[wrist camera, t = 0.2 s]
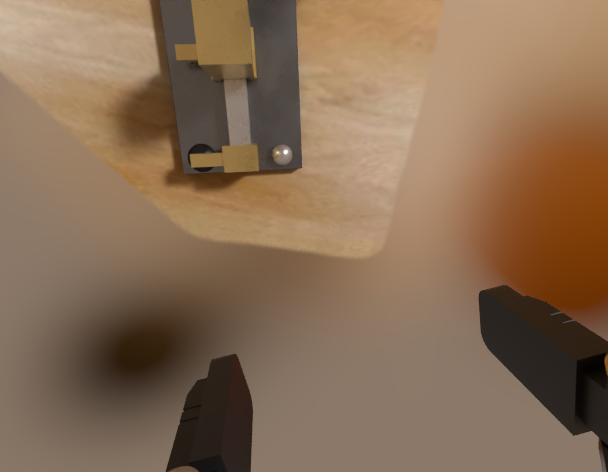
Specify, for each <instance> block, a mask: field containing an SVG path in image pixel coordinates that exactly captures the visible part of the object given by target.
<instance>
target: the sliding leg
mask: <svg viewBox="0 0 608 472" xmlns="http://www.w3.org/2000/svg"><path fill="white" fill-rule="evenodd" d="M191 4H192V12H193V21H194V30H195V38H196V44H175V51H176V59H177V61H178V62H188V63H191V62H198V64H199V66H200V67H202V68H203V69H204V70H205V71H206V72H207V73H208V74H209V75H210V76H211V79H212V80H213V81H222V80H221V79H239V78H249V80H257V72H256V58H255V44H254V31H253V27H251V25H250V17H249V10H248V2H247V0H191Z"/></svg>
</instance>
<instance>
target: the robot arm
mask: <svg viewBox="0 0 608 472" xmlns="http://www.w3.org/2000/svg"><path fill="white" fill-rule="evenodd" d="M479 310H480V325H481V334H482V338H483V340H484V342H485V344H486V346H487V348H488V349H489V350H490V351H491V352H492V353H493V355H495V357H497V359H498V360H499V361H500V362H501V363H502V364H503V365H504V366H505V367H506V368H507V369H508V370H509V371H510V372H511V373H512V374H513V375H514V376H515V377H516V378H517V379H518V380H519V381H520V382H521V383H522V384H523V385H524V386H525V387H526V388H527V389H528V390H529V391H530V392H531V393H532V394H533V395H534V396H535V397H536V398H537V399H538V400H539V401H540V402H541V403H542V404H543V405H544V406H545V407H546V408H547V409H548V410H549V411H550V412H551V413H552V414H553V415H554V416H555V417H556V418H557V419H558V420H559V421H560V422H561V423H562V424H563V425H564V426H565V427H566V428H567V429H568V430H569V431H570V432H571V433H572V434H573V435H578V434H581V433H585V432H589V431H593V432H594V433H595V434H596V435H597V436H598V437H599V443H598V448H599V454H600V459H601V466H602V471H603V472H608V341H606V340H605V339H603V338H601V337H600V336H598V335H597V334H595V333H594V332H592V331H590V330H589V329H587V328H586V327H584V326H583V325H581V324H579V323H578V322H576V321H575V322H574V321H573V319H572V318H570V317H568V316H567V315H565V314H564V313H561V312H560V311H559V310H558V309H556V308H554V307H553V306H551V305H550V304H548V303H547V302H544V301H541V300H538V299H535V298H532V297H530V296H524V297H523V296H522V295H520V294H519V293H517V292H516V291H514V290H513V289H511V288H510V287H508V286H506V285H502V286H498V287H494V288H490V289H486V290H482V291H481V292H480V293H479ZM183 410H184V412H183V413H182V416H181V419H180V425H179V426H178V430H177V433H176V437H175V440H174V444H173V448H172V451H171V455H170V458H169V462H168V465H167V469H166V472H251V447H252V421H253V407H252V400H251V395H250V391H249V388H248V385H247V382H246V379H245V376H244V374H243V371H242V368H241V365H240V362H239V359H238V357H237V355H236V354H232V355H228V356H224V357H220V358H216V359H212V361H211V363H210V368H209V372H208V377H207V378H205V379H201V380H198V381H197V382H196V383H195V385H194V386H193V387H192V389H191V390H190V392H189V393H188V395H187V398H186V401H185V405H184V408H183Z"/></svg>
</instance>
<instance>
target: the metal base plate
mask: <svg viewBox="0 0 608 472" xmlns="http://www.w3.org/2000/svg"><path fill="white" fill-rule="evenodd" d="M247 2H248V10H249V17H250V25H251V27H253V31H254V44H255V58H256V72H257V80H249V78H246V80H247V93H248V105H249V118H250V130H251V143H258V156H259V170H276V169H296V168H302V153H301V126H300V100H299V73H298V47H297V20H296V0H247ZM160 8H161V15H162V22H163V29H164V36H165V43H166V50H167V58H168V65H169V72H170V79H171V86H172V93H173V100H174V107H175V115H176V122H177V129H178V136H179V143H180V150H181V157H182V165H183V172H184V174H196V173H216V172H225V171H224V166H214V167H194V168H191V160H190V154H193V153H215V152H222V146H224V145H228V144H230V140H229V130H228V119H227V109H226V99H225V89H224V79H221V80H222V81H213V80H212V79H211V76H210V75H209V74H208V73H207V72H206V71H205V70H204V69H203V68H202V67H200V66H199V64H198V62H191V63H188V62H178V61H177V59H176V51H175V44H196V38H195V30H194V21H193V12H192V4H191V0H160Z"/></svg>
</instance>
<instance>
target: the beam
mask: <svg viewBox="0 0 608 472" xmlns="http://www.w3.org/2000/svg"><path fill="white" fill-rule="evenodd" d="M224 89H225V99H226V109H227V119H228V130H229V140H230V144H228V145H224V146H222V152H215V153H193V154H190V160H191V168H194V167H214V166H224V171H225V173H230V172H249V171H259V156H258V143H251V130H250V118H249V105H248V93H247V80H246V78H239V79H224Z"/></svg>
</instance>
